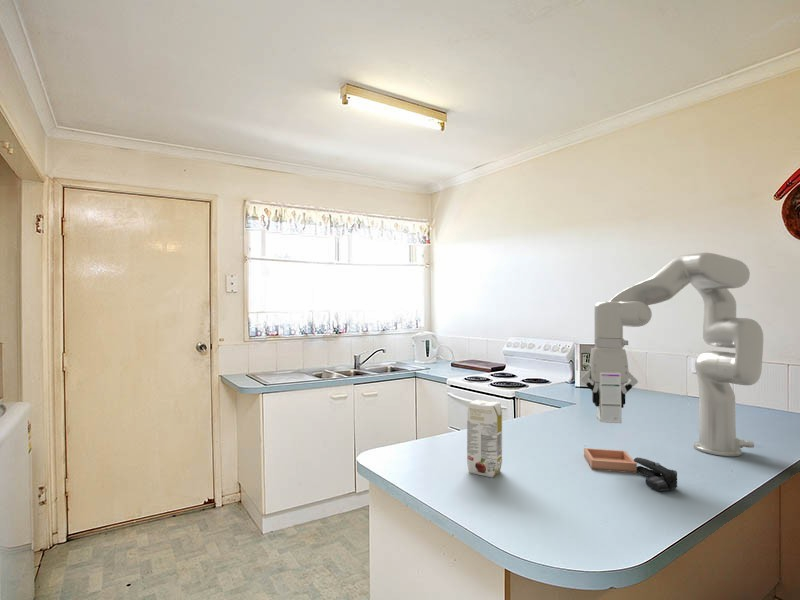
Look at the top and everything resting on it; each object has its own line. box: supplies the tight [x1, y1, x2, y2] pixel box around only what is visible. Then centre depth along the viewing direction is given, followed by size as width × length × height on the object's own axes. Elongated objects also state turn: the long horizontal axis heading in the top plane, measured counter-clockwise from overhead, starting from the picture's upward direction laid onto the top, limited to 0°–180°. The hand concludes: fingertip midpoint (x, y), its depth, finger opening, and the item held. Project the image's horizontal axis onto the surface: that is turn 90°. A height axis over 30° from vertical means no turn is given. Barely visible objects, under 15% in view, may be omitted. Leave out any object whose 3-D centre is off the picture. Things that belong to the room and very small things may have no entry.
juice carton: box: [466, 399, 503, 478], centre depth 124 cm, size 8×9×19 cm
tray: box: [583, 447, 638, 473], centre depth 131 cm, size 12×12×2 cm
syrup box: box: [596, 372, 623, 424], centre depth 131 cm, size 6×6×14 cm
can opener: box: [633, 456, 678, 492], centre depth 118 cm, size 18×7×6 cm, turn 176°
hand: (608, 405), depth 131 cm, fingers closed on syrup box, 5 cm apart
